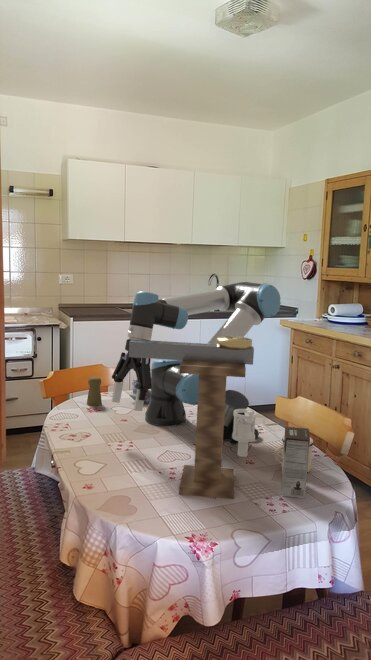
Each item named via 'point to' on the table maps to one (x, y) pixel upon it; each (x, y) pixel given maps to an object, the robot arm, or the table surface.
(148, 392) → the pink and grey figurine
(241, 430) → the strainer
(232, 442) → the milk frother
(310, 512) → the table surface
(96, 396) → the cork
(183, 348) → the dark grey bar
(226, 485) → the walnut stand
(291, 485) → the coffee box
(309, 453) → the teacup with lid
